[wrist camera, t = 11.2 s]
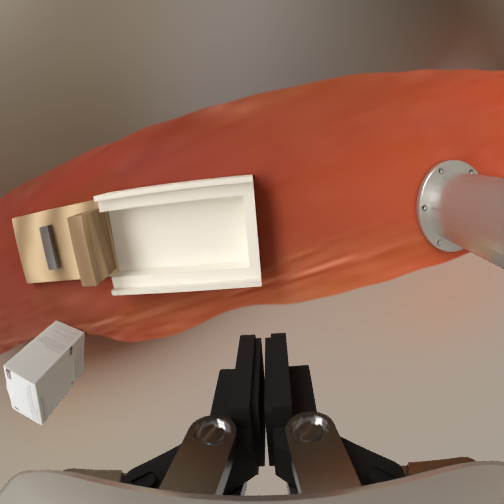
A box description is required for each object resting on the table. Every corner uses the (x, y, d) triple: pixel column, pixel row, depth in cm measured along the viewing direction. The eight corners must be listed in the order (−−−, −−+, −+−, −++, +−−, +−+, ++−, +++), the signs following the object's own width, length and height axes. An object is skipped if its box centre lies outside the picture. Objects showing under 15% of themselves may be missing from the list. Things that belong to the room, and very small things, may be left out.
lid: (109, 197, 37) (81, 205, 30) (123, 271, 40) (100, 293, 33) (18, 216, 38) (-14, 227, 30) (32, 279, 41) (4, 298, 33)
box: (252, 174, 36) (252, 175, 32) (260, 272, 40) (261, 286, 35) (109, 192, 37) (93, 196, 33) (124, 282, 40) (112, 295, 36)
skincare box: (85, 370, 44) (45, 429, 30) (55, 357, 44) (11, 410, 30) (85, 329, 42) (36, 387, 28) (53, 316, 42) (0, 367, 27)
